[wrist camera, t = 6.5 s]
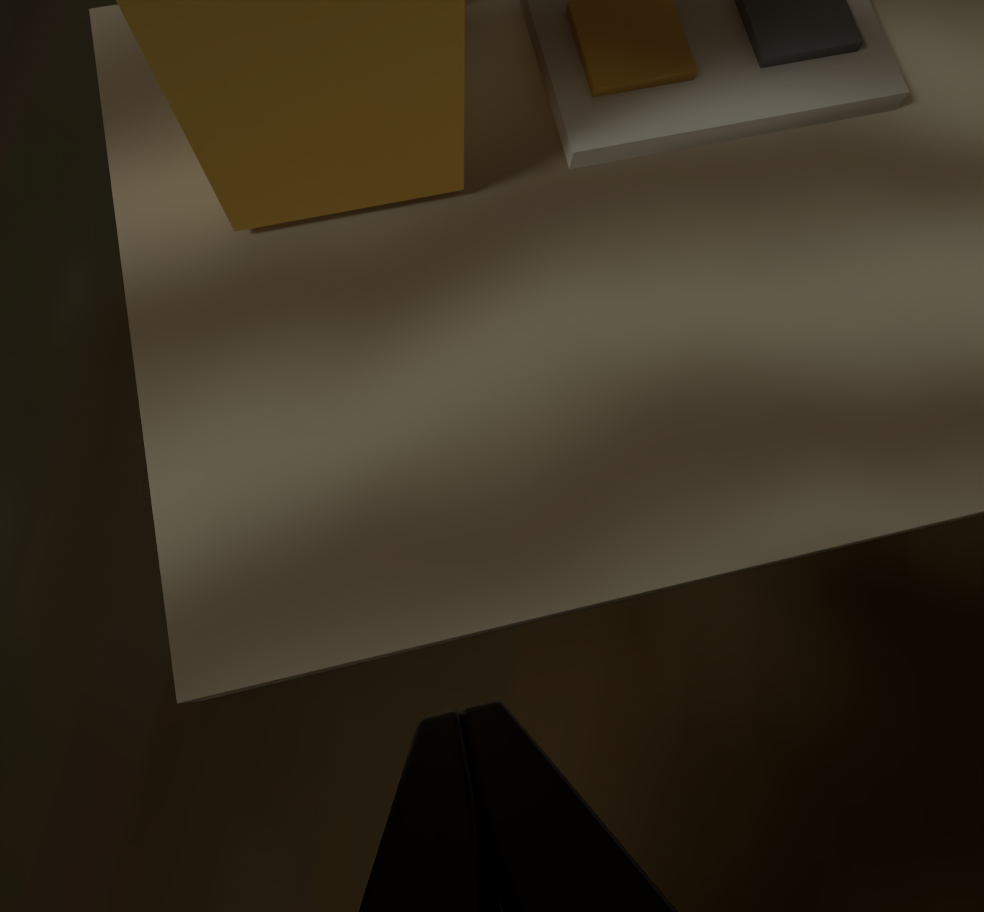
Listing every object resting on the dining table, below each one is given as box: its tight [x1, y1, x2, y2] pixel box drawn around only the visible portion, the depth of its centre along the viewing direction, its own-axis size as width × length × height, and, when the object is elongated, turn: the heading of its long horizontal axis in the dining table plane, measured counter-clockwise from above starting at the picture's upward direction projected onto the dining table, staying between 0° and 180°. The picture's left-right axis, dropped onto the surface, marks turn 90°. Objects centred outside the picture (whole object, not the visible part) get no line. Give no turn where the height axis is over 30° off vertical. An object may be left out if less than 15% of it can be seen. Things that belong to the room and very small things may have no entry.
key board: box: [89, 0, 984, 703], centre depth 17 cm, size 16×28×4 cm, turn 103°
